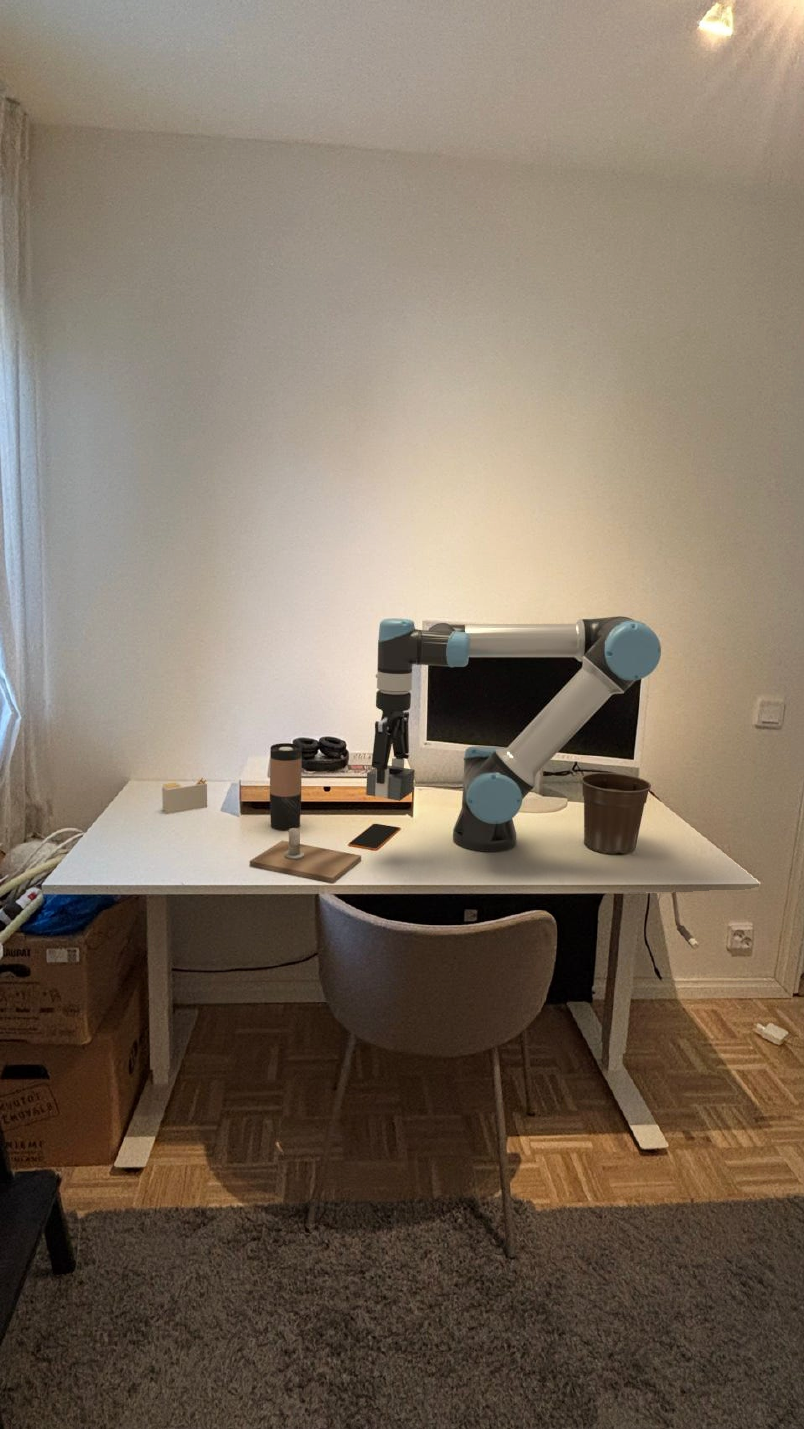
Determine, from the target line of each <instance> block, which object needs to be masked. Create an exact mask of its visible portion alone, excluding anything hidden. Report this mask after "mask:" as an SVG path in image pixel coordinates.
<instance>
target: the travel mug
mask: <svg viewBox="0 0 804 1429" xmlns="http://www.w3.org/2000/svg"><path fill="white" fill-rule="evenodd" d="M269 749H270V751H269V753H270V754H269V755H270V756H269V759H270V763H269V768H270V769H269V770H270V771H269V808H270V809H269V812H270V814H269V815H270V816H269V818H270V827H271V828H272V829H273V830H277V831H282V832H283V831H289V829H291V828H298V829H299V827H300V826H301V811H302V810H301V808H302V770H303V769H302V767H303V766H302V764H303V763H302V758H303V757H302V756H303V755H302V754H303V753H302V752H303V750H302V746H301V745H300V744H296V743H289V742H285V743H275V744H273V745H271V746H270V748H269Z"/></svg>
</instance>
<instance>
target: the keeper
mask: <svg viewBox="0 0 804 1429" xmlns="http://www.w3.org/2000/svg"><path fill="white" fill-rule="evenodd" d="M300 842H301V830H300V828H299V827H298V828H291V829H289V830H288V841H287V840H281V841H279V842H278V843H276V844H274V845H273V846H271V847H269V848H268V849H267V850H264V851H263V852H261V853H260V854H258V855H257V856H255V857H253V858H252V859H250V860H249V867H251V868H257V869H262V870H266V871H272V872H277V873H279V874H280V873H281V874H287V875H291V876H295V877H301V878H306V879H311V880H316V881H320V882H325V883H330V884H334V883H335V882H337V881H338V880H339V879H340V878H342V876H343V875H345V874H346V873H347V872H348V871H350V870H351V869H353V867H355V866H356V865H358V864H359V863H360V862H361V861H362V855H361V854H355V853H350V852H346V851H345V852H344V851H340V850H336V849H335V850H334V849H330V848H325V847H318V846H313V845H307V844H303V843H300Z"/></svg>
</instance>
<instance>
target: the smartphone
mask: <svg viewBox="0 0 804 1429" xmlns="http://www.w3.org/2000/svg"><path fill="white" fill-rule="evenodd" d="M401 830H402V829H401V827H400V826H394V825H388V824H381V823H372V824H371V825H369V826H368V827H367V828H366V829H365V830H364V831H362V832H361V833H360V834H358V835H357V836H356V837H355V838H354V839H352V840H351V841H350V842H348V844H347V846H348V847H350V848H356V849H363V850H369V851H373V852H375V851H376V852H377V851H378V850H379V849H381V848H382V847H383V846H384V845H385V844H387V843H388V842H389V841H390V840H391V839H392V838H393V837H395V835H396V834H397V833H399V832H400V831H401Z"/></svg>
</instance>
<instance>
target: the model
mask: <svg viewBox="0 0 804 1429" xmlns="http://www.w3.org/2000/svg"><path fill="white" fill-rule="evenodd" d="M206 782H207V779H205V780H204V778H203V777H202V778H200V779H199V781H197V783H196V784H194V785H189V786H182V787H181V784H179V783H178V782H171V783H163V786H162V787H161V789H162V790H161V792H162V793H161V796H162V811H163V812H165V814H167V815H168V814H169V815H170V814H175V813H181V812H187V811H193V810H200V809H205V808H208V784H207V783H206Z"/></svg>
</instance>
